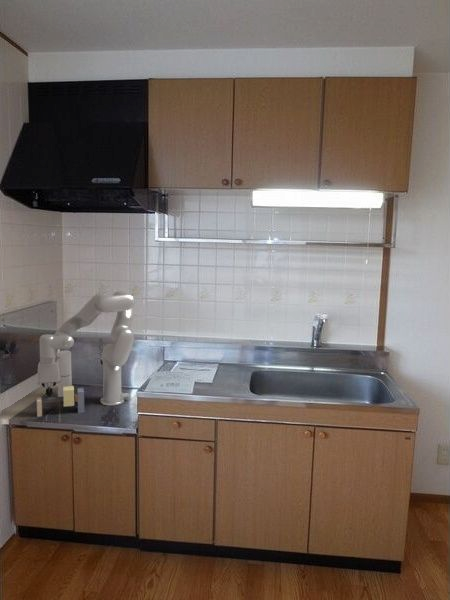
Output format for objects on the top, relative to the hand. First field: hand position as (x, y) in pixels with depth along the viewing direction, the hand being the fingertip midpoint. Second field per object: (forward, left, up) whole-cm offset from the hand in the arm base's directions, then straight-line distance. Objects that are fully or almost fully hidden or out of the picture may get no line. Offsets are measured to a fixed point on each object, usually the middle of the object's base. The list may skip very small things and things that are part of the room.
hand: (49, 395), depth 221 cm
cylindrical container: (-7, -22, -10) cm, 25 cm away
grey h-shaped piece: (-5, 0, -10) cm, 11 cm away
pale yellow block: (-9, 0, -5) cm, 11 cm away
